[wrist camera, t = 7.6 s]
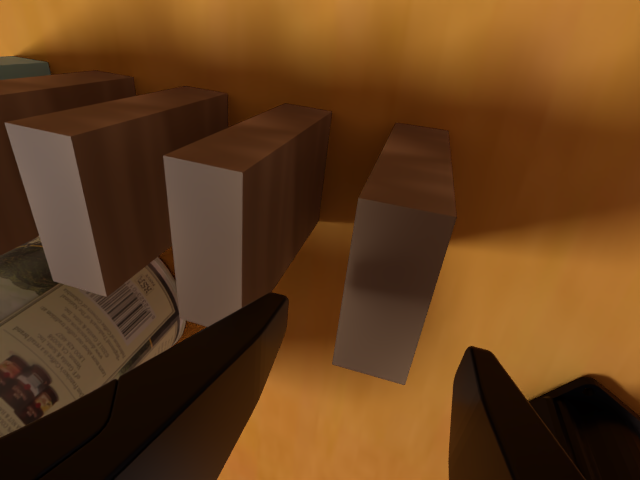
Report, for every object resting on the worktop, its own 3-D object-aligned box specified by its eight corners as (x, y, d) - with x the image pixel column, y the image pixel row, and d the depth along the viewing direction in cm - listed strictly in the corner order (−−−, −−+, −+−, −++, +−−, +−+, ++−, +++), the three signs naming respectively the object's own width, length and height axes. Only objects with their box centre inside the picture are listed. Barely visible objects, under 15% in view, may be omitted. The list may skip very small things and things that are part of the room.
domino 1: (133, 77, 17) (-75, 105, 10) (147, 181, 19) (-12, 261, 12) (95, 70, 17) (-131, 93, 10) (113, 174, 20) (-59, 247, 13)
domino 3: (332, 111, 15) (242, 172, 8) (318, 221, 18) (241, 337, 11) (285, 103, 15) (163, 155, 9) (278, 212, 18) (179, 318, 11)
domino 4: (448, 130, 14) (456, 217, 7) (418, 243, 17) (404, 385, 10) (396, 122, 15) (358, 197, 8) (374, 234, 17) (331, 364, 10)
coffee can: (36, 290, 26) (-299, 502, 14) (62, 182, 21) (-444, 378, 9) (158, 374, 27) (-64, 642, 15) (214, 291, 22) (-65, 607, 10)
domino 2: (227, 93, 16) (70, 136, 9) (228, 200, 18) (106, 297, 12) (185, 86, 16) (4, 122, 9) (192, 192, 19) (53, 280, 12)
